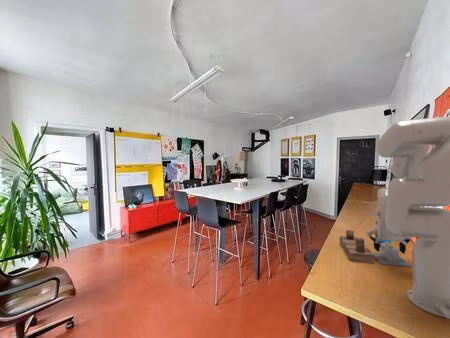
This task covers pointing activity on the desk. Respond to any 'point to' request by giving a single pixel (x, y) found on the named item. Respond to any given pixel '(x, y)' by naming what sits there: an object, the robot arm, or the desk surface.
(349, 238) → the brown stepped block
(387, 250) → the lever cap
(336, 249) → the desk surface
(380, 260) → the mat
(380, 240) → the blue bumpy piece
